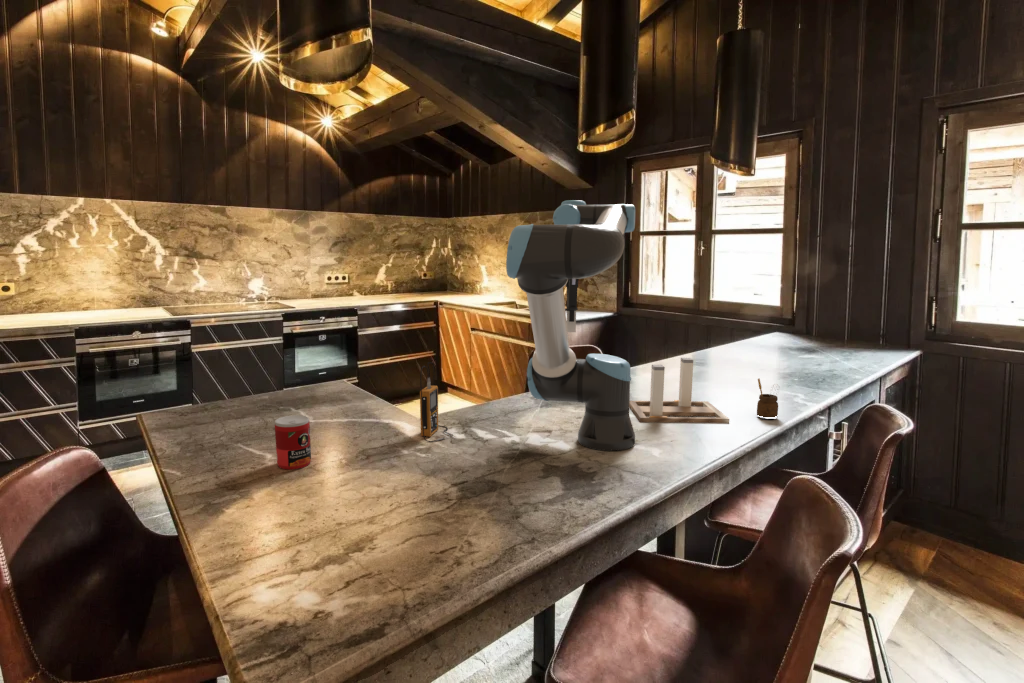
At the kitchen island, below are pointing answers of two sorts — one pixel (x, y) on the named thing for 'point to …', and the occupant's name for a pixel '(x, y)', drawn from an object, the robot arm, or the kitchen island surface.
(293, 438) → the canned food
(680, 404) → the tall white block
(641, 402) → the wooden compartment tray
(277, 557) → the kitchen island surface
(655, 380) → the white rectangular block
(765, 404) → the utensil holder
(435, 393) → the multimeter
